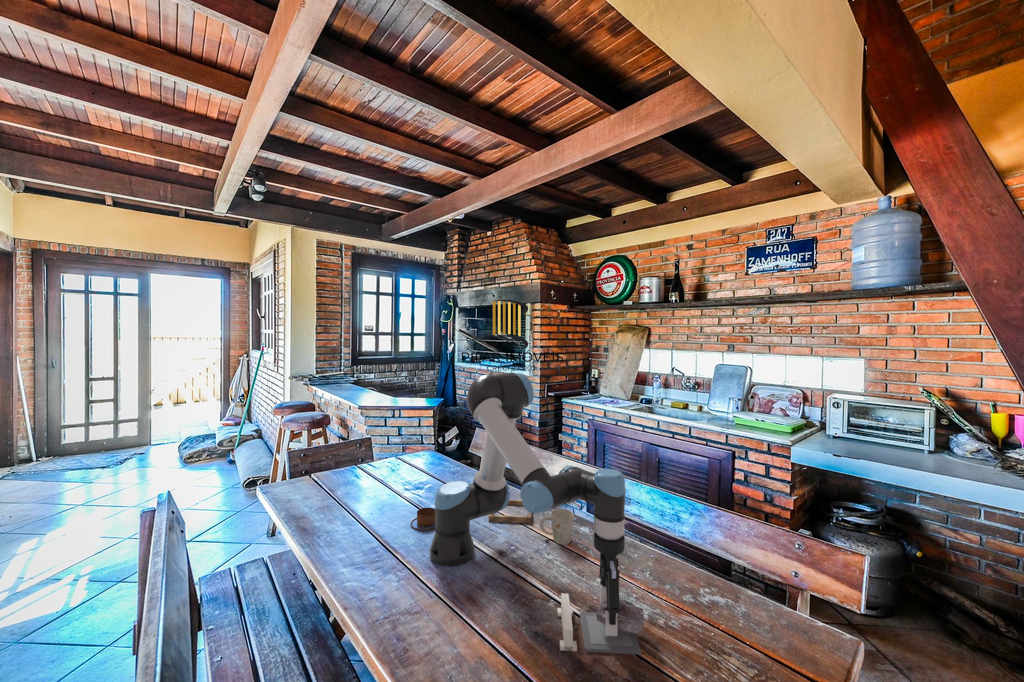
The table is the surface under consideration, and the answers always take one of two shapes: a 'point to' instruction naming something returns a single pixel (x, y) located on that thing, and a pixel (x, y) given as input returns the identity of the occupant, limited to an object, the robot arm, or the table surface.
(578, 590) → the table surface
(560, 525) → the mug
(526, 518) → the wooden frame
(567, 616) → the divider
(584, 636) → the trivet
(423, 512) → the cup and saucer
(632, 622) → the rock
